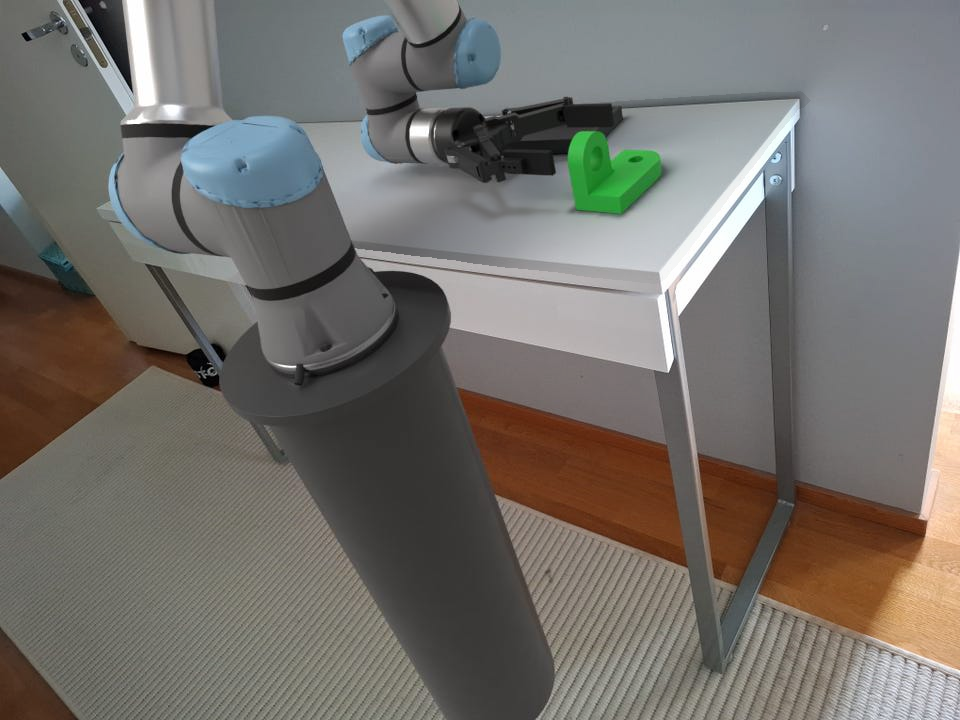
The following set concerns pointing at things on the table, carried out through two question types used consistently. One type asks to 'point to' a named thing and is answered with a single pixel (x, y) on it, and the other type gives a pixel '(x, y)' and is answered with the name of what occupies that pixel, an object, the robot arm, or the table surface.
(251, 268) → the robot arm
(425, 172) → the table surface
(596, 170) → the mechanical part
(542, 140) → the parts tray
